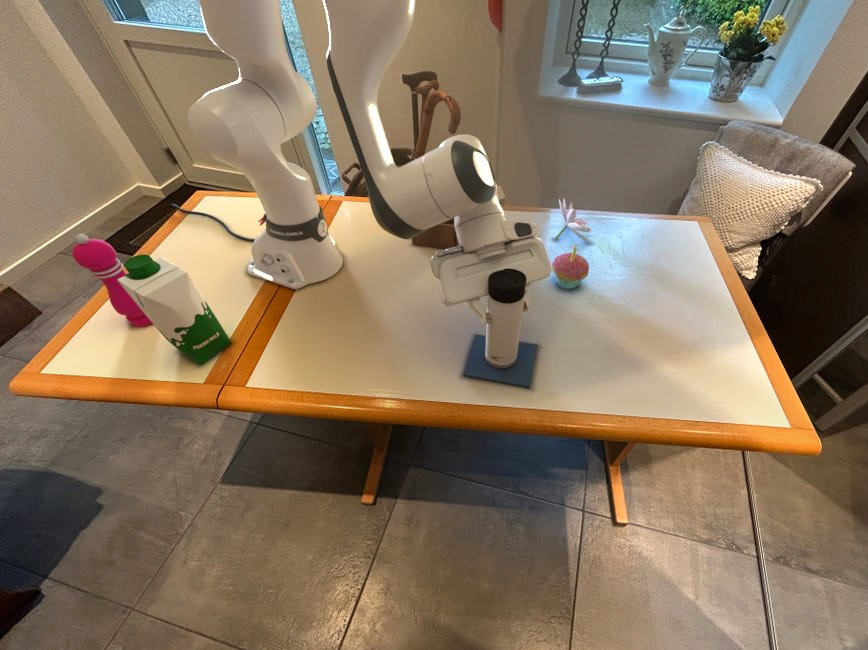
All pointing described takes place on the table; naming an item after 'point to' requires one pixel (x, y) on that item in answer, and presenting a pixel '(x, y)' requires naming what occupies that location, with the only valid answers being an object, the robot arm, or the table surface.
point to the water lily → (573, 222)
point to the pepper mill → (108, 276)
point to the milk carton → (174, 307)
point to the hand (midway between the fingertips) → (506, 317)
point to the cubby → (438, 236)
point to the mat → (511, 375)
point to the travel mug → (504, 316)
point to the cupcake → (570, 269)
